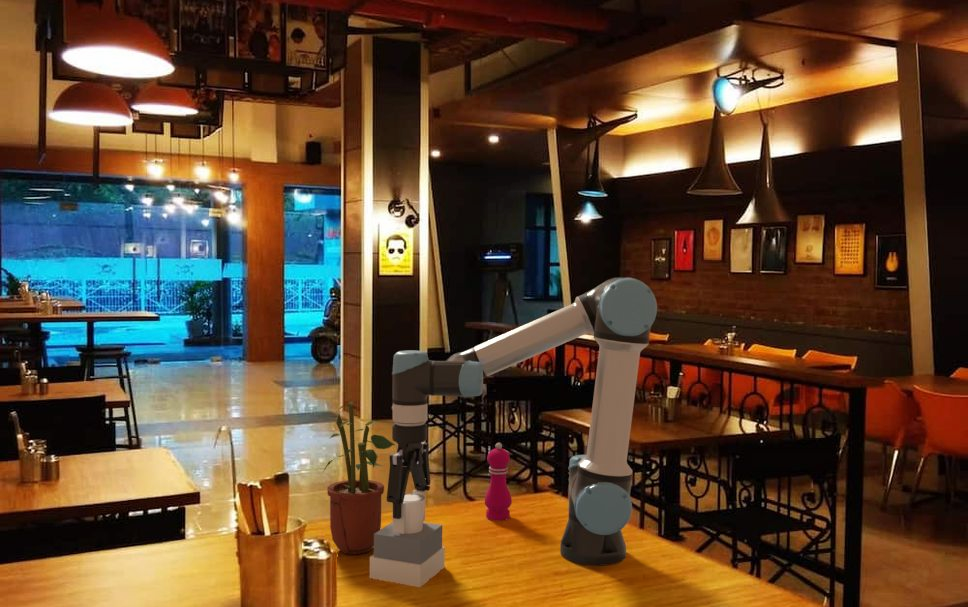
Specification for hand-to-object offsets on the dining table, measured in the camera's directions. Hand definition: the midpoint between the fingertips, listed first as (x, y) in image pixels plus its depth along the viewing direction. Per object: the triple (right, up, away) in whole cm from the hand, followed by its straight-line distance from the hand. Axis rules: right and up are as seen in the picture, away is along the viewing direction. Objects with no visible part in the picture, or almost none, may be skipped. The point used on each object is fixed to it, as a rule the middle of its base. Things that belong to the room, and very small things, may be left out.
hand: (409, 525), depth 173 cm
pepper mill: (+20, -9, +39) cm, 44 cm away
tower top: (0, -6, 0) cm, 6 cm away
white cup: (0, -1, 0) cm, 1 cm away
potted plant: (-14, -9, +16) cm, 23 cm away
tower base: (0, -11, 0) cm, 11 cm away
